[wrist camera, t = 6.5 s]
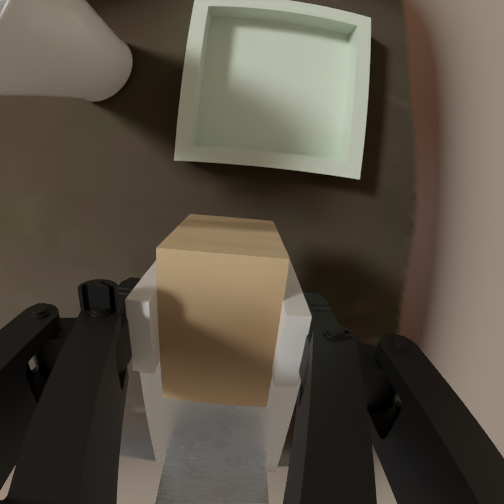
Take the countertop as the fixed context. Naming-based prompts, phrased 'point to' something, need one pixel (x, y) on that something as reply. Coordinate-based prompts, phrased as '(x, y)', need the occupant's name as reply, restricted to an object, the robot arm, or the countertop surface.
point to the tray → (275, 86)
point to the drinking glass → (60, 51)
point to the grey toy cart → (216, 445)
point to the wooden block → (220, 309)
